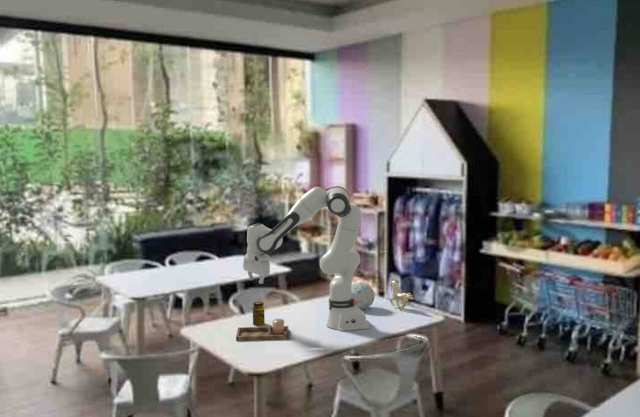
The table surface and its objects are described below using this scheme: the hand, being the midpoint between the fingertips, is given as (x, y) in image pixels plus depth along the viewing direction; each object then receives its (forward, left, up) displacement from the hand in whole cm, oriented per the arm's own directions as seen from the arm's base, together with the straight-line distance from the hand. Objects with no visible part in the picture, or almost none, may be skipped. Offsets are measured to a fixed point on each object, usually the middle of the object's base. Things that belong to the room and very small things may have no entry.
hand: (256, 281), depth 295 cm
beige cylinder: (-11, +18, -23) cm, 31 cm away
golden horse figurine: (-80, -22, -23) cm, 86 cm away
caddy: (-4, +18, -23) cm, 29 cm away
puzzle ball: (-58, -25, -23) cm, 67 cm away
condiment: (0, 0, -23) cm, 23 cm away
